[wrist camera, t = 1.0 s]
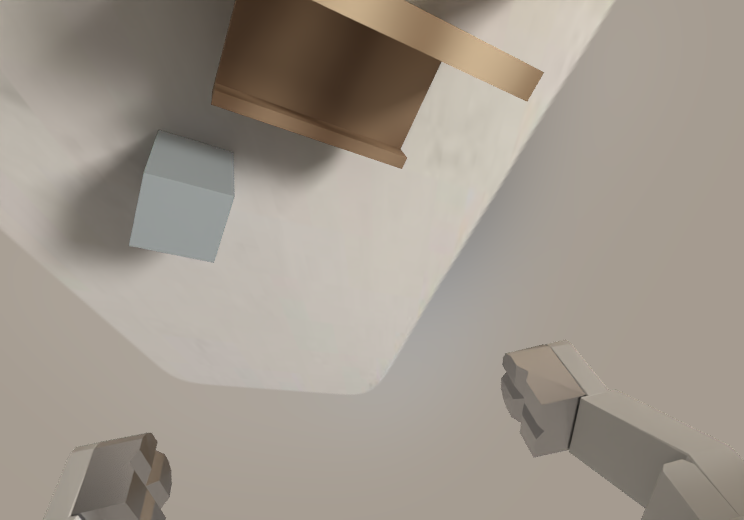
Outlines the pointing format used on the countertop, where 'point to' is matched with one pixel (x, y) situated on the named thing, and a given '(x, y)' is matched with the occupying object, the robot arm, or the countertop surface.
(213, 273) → the countertop surface
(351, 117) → the wall board
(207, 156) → the cabinet box
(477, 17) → the countertop surface
